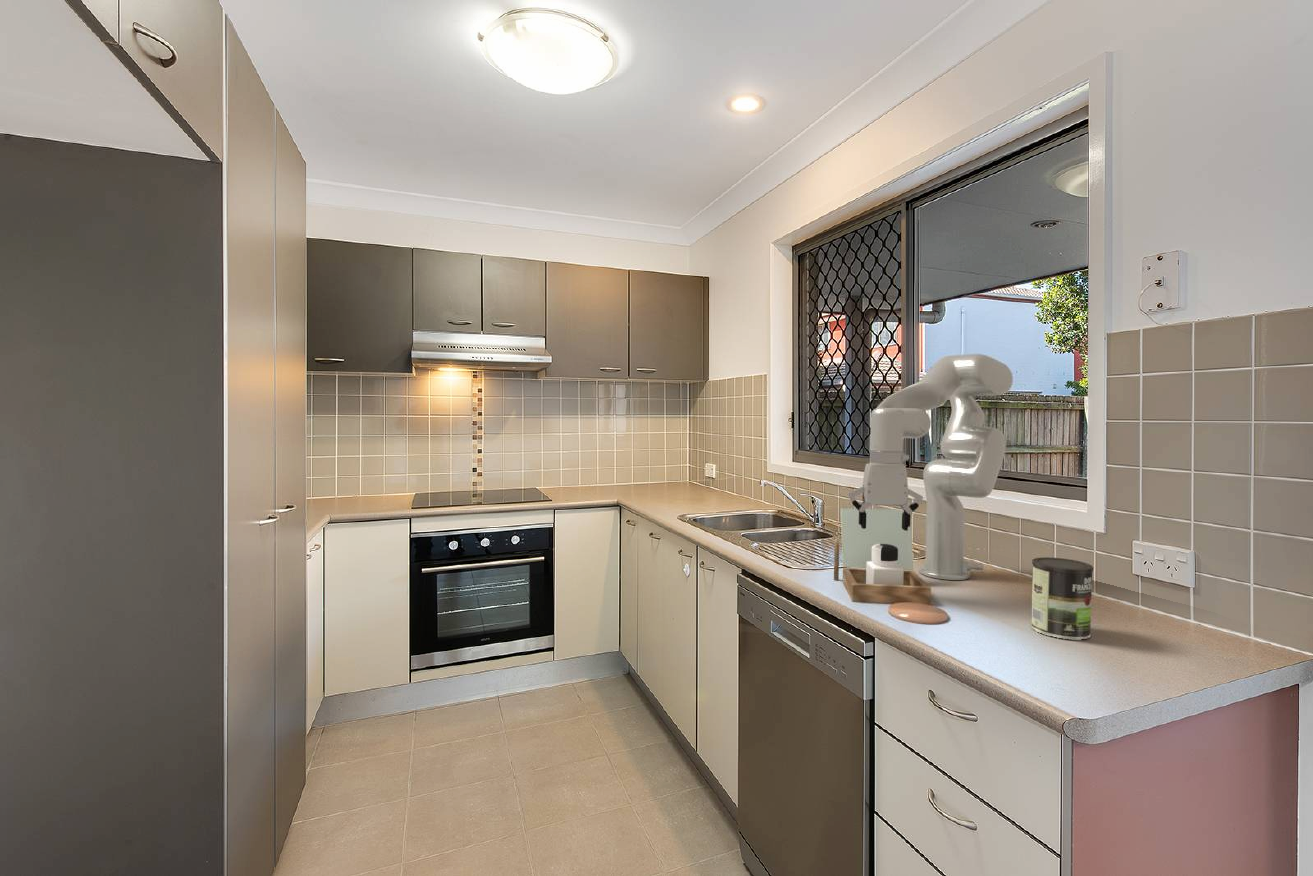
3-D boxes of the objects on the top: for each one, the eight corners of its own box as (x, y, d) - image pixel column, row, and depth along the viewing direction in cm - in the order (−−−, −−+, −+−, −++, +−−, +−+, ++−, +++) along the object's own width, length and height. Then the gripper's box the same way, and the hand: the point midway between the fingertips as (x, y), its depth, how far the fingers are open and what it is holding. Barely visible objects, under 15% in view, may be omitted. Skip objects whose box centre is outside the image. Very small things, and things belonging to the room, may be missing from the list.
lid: (913, 569, 155) (911, 570, 157) (909, 510, 160) (907, 511, 161) (843, 566, 158) (842, 567, 160) (841, 508, 162) (840, 509, 164)
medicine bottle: (894, 589, 152) (895, 542, 152) (903, 598, 145) (904, 548, 145) (865, 589, 153) (866, 541, 152) (872, 597, 146) (873, 548, 145)
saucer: (938, 607, 139) (938, 603, 139) (955, 625, 127) (955, 621, 127) (883, 604, 141) (883, 601, 141) (895, 622, 129) (895, 618, 129)
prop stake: (838, 579, 162) (838, 538, 161) (838, 580, 160) (839, 539, 160) (833, 579, 162) (834, 538, 161) (834, 580, 161) (834, 539, 160)
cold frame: (913, 586, 155) (913, 570, 155) (930, 605, 140) (930, 588, 140) (842, 583, 158) (843, 567, 158) (852, 601, 143) (852, 584, 143)
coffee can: (1101, 635, 121) (1104, 565, 121) (1072, 644, 117) (1074, 572, 116) (1048, 619, 131) (1050, 554, 130) (1019, 627, 126) (1021, 560, 125)
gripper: (919, 459, 150) (917, 528, 150) (846, 456, 153) (844, 524, 153) (928, 460, 143) (925, 533, 143) (851, 458, 145) (849, 529, 146)
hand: (883, 528), depth 148 cm, fingers open, 9 cm apart
